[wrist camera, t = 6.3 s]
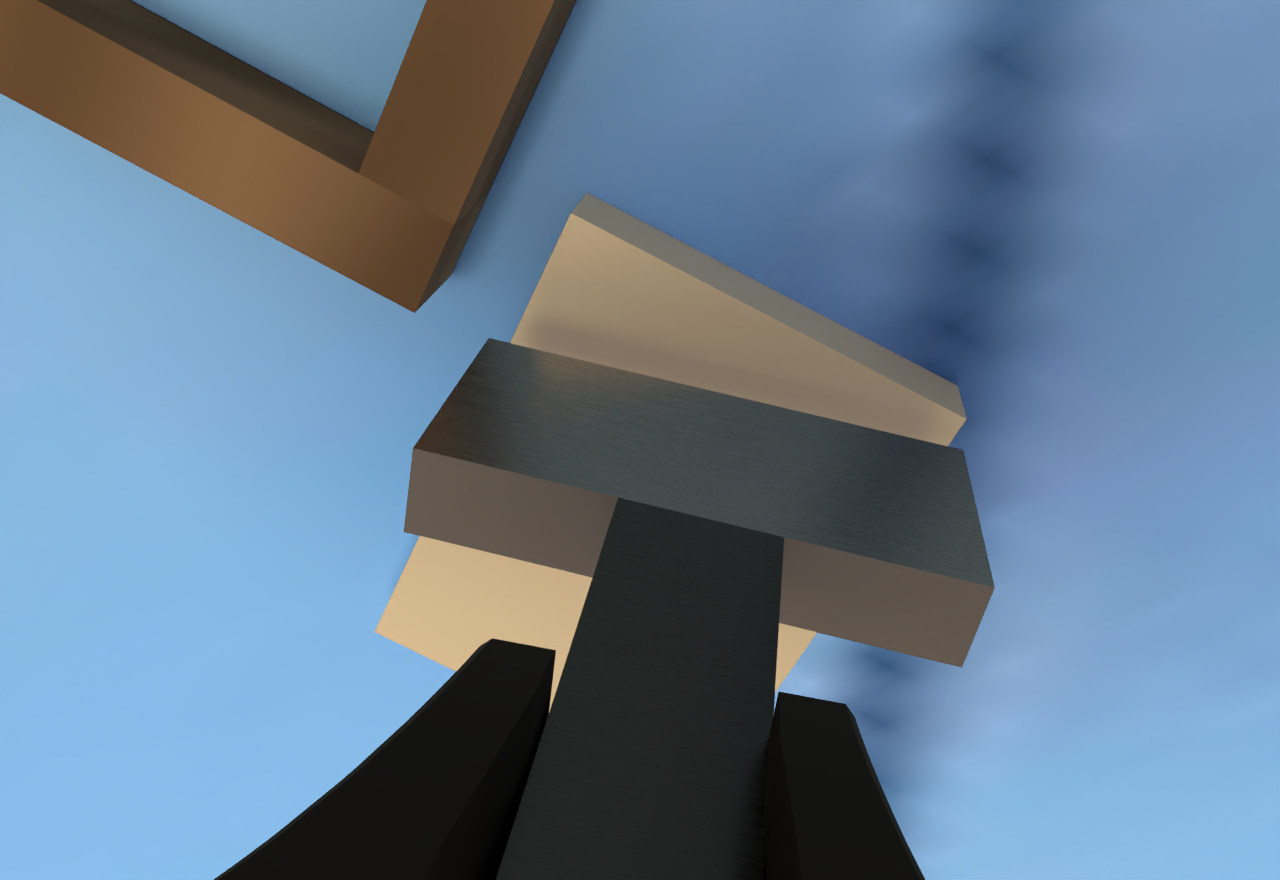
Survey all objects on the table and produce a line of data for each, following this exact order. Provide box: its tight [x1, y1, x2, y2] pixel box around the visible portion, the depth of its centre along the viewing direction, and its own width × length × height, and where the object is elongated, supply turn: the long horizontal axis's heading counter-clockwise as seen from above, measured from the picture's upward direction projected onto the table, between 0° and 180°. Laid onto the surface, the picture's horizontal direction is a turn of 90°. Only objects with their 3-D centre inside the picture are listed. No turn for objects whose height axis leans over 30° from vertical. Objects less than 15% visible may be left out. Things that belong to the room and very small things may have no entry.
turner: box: [404, 338, 995, 880], centre depth 13 cm, size 7×1×10 cm, turn 79°
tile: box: [375, 193, 967, 712], centre depth 21 cm, size 7×2×9 cm
